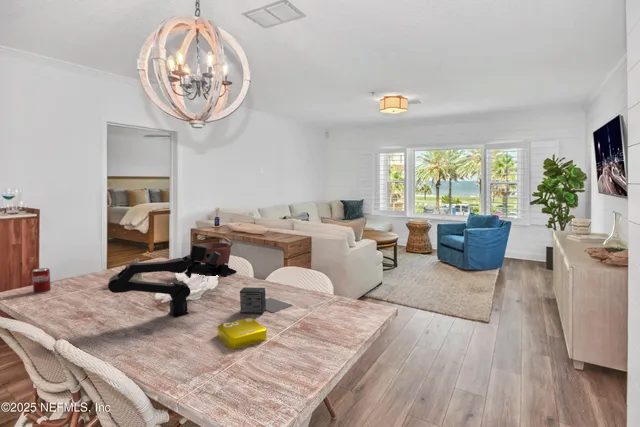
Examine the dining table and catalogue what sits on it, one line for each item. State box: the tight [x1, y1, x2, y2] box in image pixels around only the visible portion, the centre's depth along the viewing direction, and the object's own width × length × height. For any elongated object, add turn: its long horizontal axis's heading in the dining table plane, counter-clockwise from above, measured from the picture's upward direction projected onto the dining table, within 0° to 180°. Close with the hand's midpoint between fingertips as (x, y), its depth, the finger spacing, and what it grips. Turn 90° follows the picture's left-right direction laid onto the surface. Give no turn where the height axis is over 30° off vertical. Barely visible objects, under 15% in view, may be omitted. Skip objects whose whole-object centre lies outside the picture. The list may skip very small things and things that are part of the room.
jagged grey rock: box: [114, 257, 145, 282], centre depth 203 cm, size 16×16×15 cm
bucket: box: [192, 234, 234, 266], centre depth 222 cm, size 24×22×25 cm
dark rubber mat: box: [265, 297, 293, 314], centre depth 171 cm, size 13×16×1 cm
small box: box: [239, 286, 267, 315], centre depth 162 cm, size 11×6×10 cm, turn 84°
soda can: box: [31, 267, 52, 295], centre depth 185 cm, size 7×7×12 cm
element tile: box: [217, 317, 267, 350], centre depth 136 cm, size 15×15×5 cm
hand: (231, 271), depth 172 cm, fingers open, 9 cm apart
